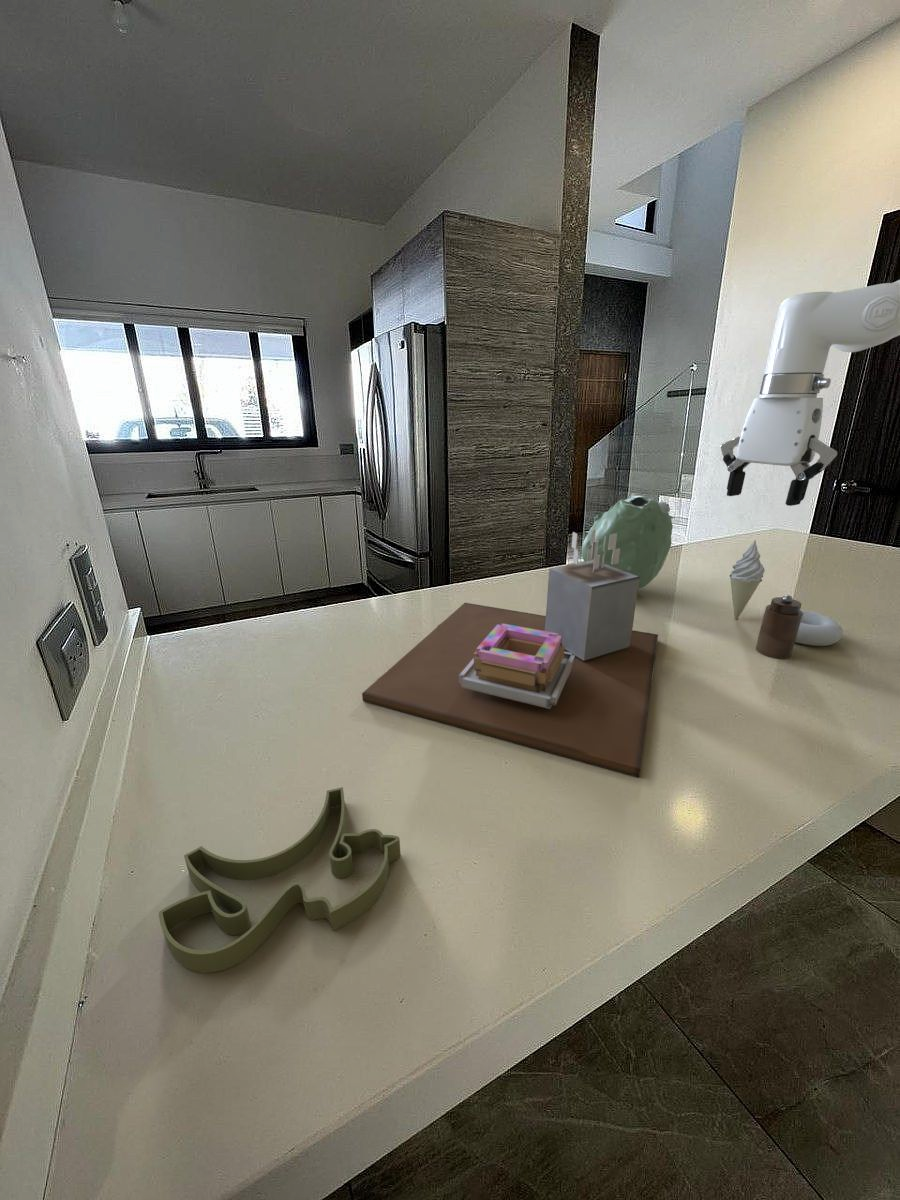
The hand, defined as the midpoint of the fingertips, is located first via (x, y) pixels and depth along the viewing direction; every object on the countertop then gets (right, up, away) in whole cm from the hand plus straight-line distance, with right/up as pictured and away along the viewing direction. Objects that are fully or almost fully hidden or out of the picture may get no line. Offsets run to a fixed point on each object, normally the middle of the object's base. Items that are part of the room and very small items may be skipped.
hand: (761, 499), depth 80 cm
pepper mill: (-1, -25, -4) cm, 25 cm away
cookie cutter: (-66, -40, -40) cm, 87 cm away
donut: (+8, -23, +1) cm, 24 cm away
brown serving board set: (-41, -27, -8) cm, 49 cm away
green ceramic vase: (-16, -15, +23) cm, 31 cm away
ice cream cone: (+1, -20, +8) cm, 22 cm away
